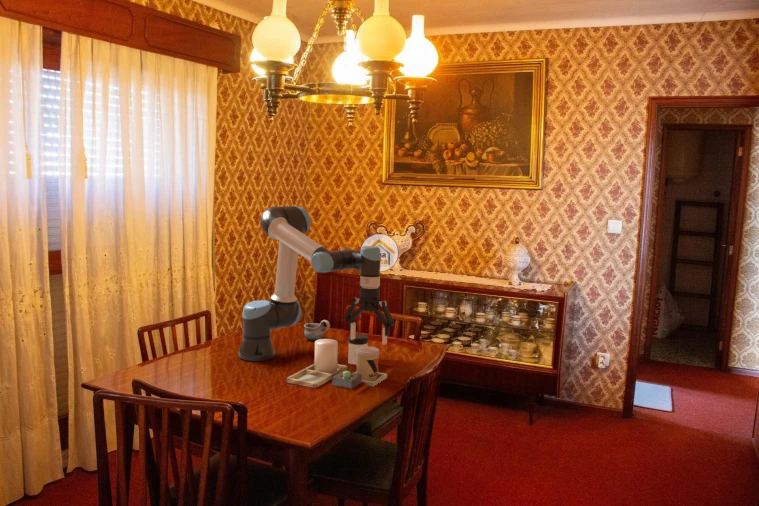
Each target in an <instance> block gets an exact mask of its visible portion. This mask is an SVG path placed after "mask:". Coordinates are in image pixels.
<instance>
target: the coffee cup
mask: <svg viewBox="0 0 759 506" xmlns="http://www.w3.org/2000/svg"><path fill="white" fill-rule="evenodd" d="M380 353H381V352H380V349H379V348H378V347H375V346H369V345H368V346H363V347H358V348H357V349H356V365H355V366H356V369H355V370H356V371H357V374H360V375H361V380H366V381H372V382H374V381H375V380H377V379H378V374H377V373H378V372H379V363H380Z"/></svg>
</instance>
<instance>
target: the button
mask: <svg viewBox="0 0 759 506" xmlns="http://www.w3.org/2000/svg"><path fill="white" fill-rule="evenodd" d="M351 373H352V372H351V370H347V371H343V377H345V378H350V377H351Z"/></svg>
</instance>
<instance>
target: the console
mask: <svg viewBox="0 0 759 506" xmlns="http://www.w3.org/2000/svg"><path fill="white" fill-rule="evenodd" d="M361 383H362V382H361V375H360V374H354V372H351V377H350V378H345V377H343V371H342V372H341V373H339V374H337V375H335V376H334V377H332V379H331V385H332V386H334V387H340V388H345V389H350V390H352V389H353V388H355V387H356V386H358V385H359V384H361Z"/></svg>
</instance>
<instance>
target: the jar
mask: <svg viewBox="0 0 759 506" xmlns="http://www.w3.org/2000/svg"><path fill="white" fill-rule="evenodd" d="M350 337H351V334H349V335H348V340H347V341H348V348H347V349H348V350H347V351H348V355H347V359H348V360H347V362H348V364H350V365H355V366H356V349H357V348H358V347H363V346H369V345H368V344H369V343H368V341H369V336H368V335H367V334H365V333H364V334H363V333H355V339H353V340H350Z"/></svg>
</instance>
